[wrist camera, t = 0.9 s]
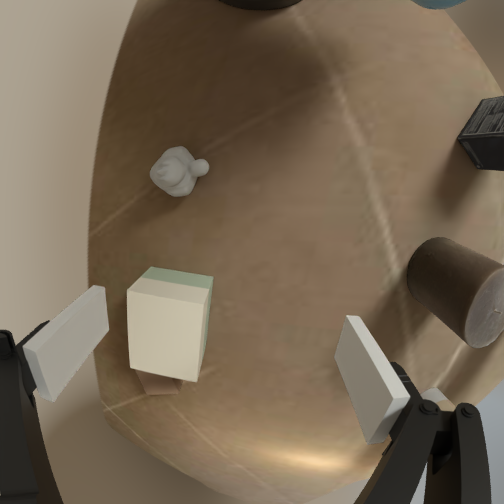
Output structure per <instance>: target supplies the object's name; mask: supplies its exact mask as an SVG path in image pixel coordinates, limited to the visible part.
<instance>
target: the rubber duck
mask: <svg viewBox="0 0 504 504" xmlns="http://www.w3.org/2000/svg"><path fill="white" fill-rule="evenodd" d="M208 170H209V165H208V163H207V161H206V160H204V159H198V160H195V159H194V158H193V156H192V155H191V154H190V153H189V151H188V150H187V149H186V148H185V147H183V146H178V147H173V148H169V149H168V150H166V151H165V152H164V153H163V154H162V156H161V158H159V159H158V161H157V162H156V163H155V164H154V165H153V167H152V168H151V170H150V177H151V179H152V181H153V182H154V183H155V184H156V185H157V186H158V187H159V188H161V189H162V190H164V191H165V192H166V193H168V194H169V195H171V196H175V197H179V196H185V195H188V194H190V193H191V192H192V190H193V187H194V185H195V183H196V180H197V177H198V176H203V175H205V174H206V173H207V172H208Z"/></svg>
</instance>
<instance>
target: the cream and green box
mask: <svg viewBox="0 0 504 504" xmlns="http://www.w3.org/2000/svg"><path fill="white" fill-rule="evenodd" d="M213 278H214V277H212V276H206V275H200V274H193V273H187V272H181V271H175V270H169V269H163V268H157V267H152V266H151V267H150V268H149V269H148V270H147V271H146V272H145V273H144V274H143V275H142V276H141V277H140V278H139V279H138V280H137V281H136V282H135V283H134V284H133V285H132V286H131V287H130V288H129V289H128V290H127V321H128V343H129V358H130V368H133V369H137V370H141V371H145V372H149V373H154V374H158V375H163V376H167V377H172V378H177V379H182V380H188V381H193V382H197V380H198V376H199V372H200V368H201V363H202V359H203V355H204V351H205V347H206V340H207V331H208V321H209V312H210V303H211V295H212V286H213Z"/></svg>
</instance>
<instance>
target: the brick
mask: <svg viewBox="0 0 504 504" xmlns="http://www.w3.org/2000/svg"><path fill="white" fill-rule="evenodd" d="M135 371H136V374H137V376H138V378H139V380H140V382H141V384H142V386H143V388H144V390H145V392H146V394H147V395H160V394H179V392H180V389H181V385H182V382H183V380H182V379H177V378H172V377H167V376H163V375H158V374H154V373H149V372H145V371H141V370H137V369H135Z"/></svg>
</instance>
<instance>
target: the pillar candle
mask: <svg viewBox="0 0 504 504" xmlns="http://www.w3.org/2000/svg"><path fill="white" fill-rule="evenodd" d="M407 283H408V288H409V290H410V292H411V294H412V295H413V296H414V297H415V298H416V299H417V300H418V301H419V302H420V303H422V304H423V305H424V306H425V307H426V308H428V309H429V310H430V311H431V312H432V313H433V314H434V315H436V316H437V317H438V318H439V319H440V320H441V321H442V322H443V323H445V324H446V325H447V326H448V327H449V328H450V329H451V330H453V331H454V332H455V333H456V334H457V335H458V336H459V337H460V338H461V339H462V340H464V341H465V342H466V343H467V344H468V345H469V346H471V347H473V348H481V347H484V346H488V345H489V344H490V343H492V342H493V341H494V340H495V339H496V338H497V337H498V336H499V334H500V333H501V332H502V331H503V330H504V265H502V264H500V263H498V262H496V261H494V260H492V259H490V258H488V257H486V256H484V255H482V254H479V253H477V252H475V251H473V250H471V249H469V248H466V247H464V246H462V245H460V244H457V243H455V242H453V241H451V240H449V239H447V238H439V237H437V238H432V239H430V240H427V241H426V242H424V243H423V244H422V245H421V246H420V247H419V248H418V249H417V250H416V252H415V254H414V255H413V257H412V259H411V261H410V263H409V267H408V274H407Z"/></svg>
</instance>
